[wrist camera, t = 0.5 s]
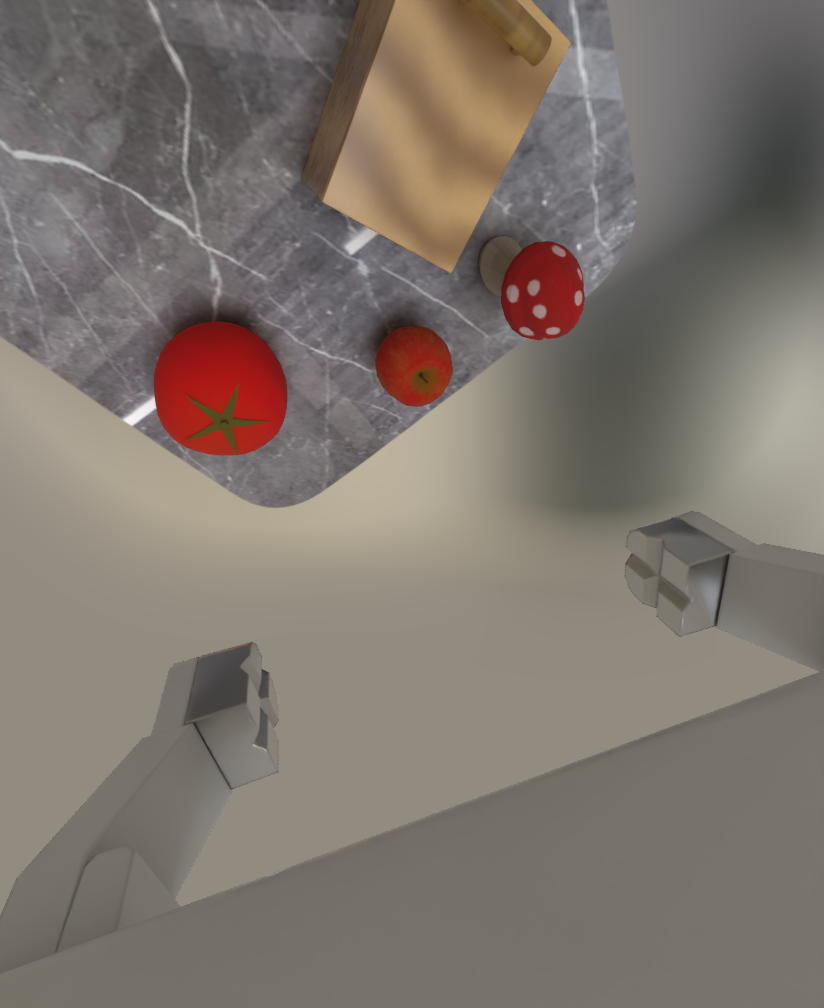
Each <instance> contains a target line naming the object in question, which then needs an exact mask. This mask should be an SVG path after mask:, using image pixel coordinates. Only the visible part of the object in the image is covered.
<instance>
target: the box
mask: <svg viewBox="0 0 824 1008" xmlns="http://www.w3.org/2000/svg"><path fill="white" fill-rule="evenodd" d="M391 3H392V0H360V2H359V5H358V8H357V11H356V14H355V17H354V20H353V23H352V26H351V29H350V32H349V35H348V38H347V41H346V44H345V47H344V50H343V53H342V56H341V59H340V62H339V65H338V68H337V71H336V74H335V77H334V80H333V83H332V86H331V89H330V92H329V95H328V98H327V101H326V104H325V107H324V110H323V113H322V116H321V119H320V122H319V125H318V128H317V131H316V134H315V137H314V140H313V143H312V146H311V149H310V152H309V155H308V158H307V161H306V164H305V167H304V170H303V173H302V176H301V178H302V180H303V181H304V182H305V183H306V184H307V185H308V186H309V187H310V189H311V190H312V191H313V192H314V193H315V194H316V195H317V196H318V198H319V199H320V200H321V197H322V195H323V192H324V189H325V186H326V183H327V181H328V178H329V175H330V172H331V170H332V167H333V164H334V161H335V158H336V156H337V153H338V150H339V147H340V144H341V142H342V139H343V136H344V133H345V131H346V128H347V125H348V122H349V119H350V117H351V114H352V111H353V108H354V106H355V103H356V100H357V97H358V94H359V92H360V89H361V86H362V83H363V81H364V78H365V75H366V72H367V69H368V67H369V64H370V61H371V58H372V56H373V53H374V50H375V47H376V44H377V42H378V39H379V36H380V33H381V31H382V28H383V25H384V22H385V19H386V17H387V14H388V11H389V8H390V5H391Z"/></svg>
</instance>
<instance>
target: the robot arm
mask: <svg viewBox="0 0 824 1008" xmlns="http://www.w3.org/2000/svg"><path fill="white" fill-rule="evenodd" d="M626 548H627V549H628V550H629V551H630V552H631V553H632V554H631V555H630V557H629V559H628V560H627V562H626V563H625V578H626V581H627V584H628V587H629V589H630V590H631V592H632V593H633V594H634V596H635V597H636V598H637V599H638V600H639V601H640V602H641V603H642V604H645V605H648V606H651V607H654V608H656V614H657V617H658V618H659V619H660V620H661V621H662V622H663V623H664V624H666V625H667V626H668V627H669V628H670V629H671V630H672V631H673V632H674V633H676V634H677V635H678V636H679V637H681V636H684V635H688V634H691V633H694V632H698V631H701V630H704V629H708V628H711V627H714V626H716V628H718V629H720V630H722V631H725V632H727V633H729V634H732V635H734V636H736V637H739V638H741V639H744V640H746V641H748V642H751V643H753V644H755V645H758V646H760V647H763V648H765V649H767V650H770V651H772V652H774V653H777V654H779V655H782V656H784V657H786V658H789V659H791V660H793V661H796V662H798V663H801V664H803V665H805V666H808V667H810V668H812V669H815V670H817V671H819V673H816V674H813V675H811V676H808V677H805V678H803V679H800V680H797V681H794V682H792V683H789V684H786V685H783V686H781V687H778V688H775V689H772V690H770V691H767V692H765V693H762V694H759V695H756V696H754V697H751V698H748V699H745V700H742V701H740V702H737V703H734V704H732V705H729V706H726V707H724V708H721V709H718V710H715V711H713V712H710V713H707V714H705V715H702V716H699V717H696V718H694V719H691V720H689V721H686V722H683V723H680V724H677V725H675V726H672V727H669V728H667V729H664V730H661V731H659V732H656V733H653V734H650V735H648V736H645V737H642V738H640V739H637V740H634V741H631V742H629V743H626V744H623V745H620V746H618V747H615V748H612V749H610V750H607V751H604V752H601V753H599V754H596V755H593V756H591V757H588V758H585V759H582V760H580V761H577V762H574V763H571V764H569V765H566V766H563V767H560V768H558V769H555V770H552V771H550V772H547V773H544V774H542V775H539V776H536V777H534V778H531V779H528V780H525V781H522V782H520V783H517V784H514V785H511V786H509V787H506V788H503V789H500V790H498V791H495V792H492V793H490V794H487V795H484V796H481V797H479V798H476V799H473V800H470V801H468V802H465V803H463V804H460V805H457V806H454V807H451V808H449V809H446V810H443V811H441V812H438V813H435V814H432V815H430V816H427V817H424V818H422V819H419V820H416V821H413V822H411V823H408V824H405V825H403V826H400V827H397V828H394V829H392V830H389V831H386V832H383V833H381V834H378V835H375V836H373V837H370V838H367V839H364V840H362V841H359V842H356V843H354V844H351V845H348V846H345V847H343V848H340V849H337V850H335V851H332V852H329V853H326V854H324V855H321V856H318V857H315V858H313V859H310V860H307V861H305V862H302V863H299V864H296V865H294V866H291V867H288V868H285V869H283V870H280V871H277V872H275V873H272V874H269V875H266V876H264V877H261V878H258V879H256V880H253V881H250V882H247V883H245V884H242V885H239V886H236V887H234V888H231V889H229V890H226V891H223V892H220V893H217V894H215V895H212V896H210V897H207V898H204V899H201V900H198V901H196V902H193V903H190V904H188V905H185V906H182V907H180V905H179V904H178V903H177V902H176V901H175V898H176V896H177V894H178V892H179V891H180V889H181V887H182V885H183V883H184V881H185V879H186V878H187V876H188V874H189V872H190V870H191V868H192V866H193V864H194V863H195V861H196V859H197V857H198V855H199V853H200V851H201V849H202V848H203V846H204V844H205V842H206V840H207V838H208V836H209V835H210V832H211V831H212V829H213V827H214V825H215V823H216V821H217V820H218V818H219V816H220V814H221V812H222V810H223V808H224V807H225V805H226V803H227V801H228V799H229V797H230V795H231V793H232V791H231V790H232V789H234V788H237V787H240V786H242V785H245V784H248V783H250V782H253V781H256V780H259V779H261V778H264V777H267V776H270V775H272V774H275V773H278V739H277V736H276V734H275V731H274V730H273V728H274V727H275V725H276V724H277V722H278V704H277V697H276V692H275V688H274V685H273V681H272V679H271V677H270V674H269V673H268V672H267V671H265V670H263V669H262V655H261V653H260V651H259V649H258V647H257V645H256V644H255V643H253V642H250V643H247V644H243V645H239V646H236V647H232V648H228V649H224V650H221V651H217V652H213V653H210V654H206V655H203V656H201V657H196V658H193V659H189V660H186V661H182V662H179V663H175V664H174V665H173V666H172V667H171V668H170V669H169V672H168V676H167V679H166V683H165V687H164V690H163V694H162V697H161V701H160V705H159V708H158V712H157V716H156V719H155V723H154V727H153V730H152V734H151V736H149V737H146V738H142V740H141V741H140V742H139V743H138V744H137V745H136V746H135V747H134V749H133V750H132V751H131V752H130V753H129V754H128V755H127V756H126V757H125V759H124V760H123V761H122V762H121V763H120V764H119V765H118V766H117V767H116V768H115V770H114V771H113V772H112V773H111V774H110V775H109V776H108V777H107V778H106V780H105V781H104V782H103V783H102V784H101V785H100V786H99V787H98V789H97V790H96V791H95V792H94V793H93V794H92V795H91V796H90V797H89V799H88V800H87V801H86V802H85V803H84V804H83V805H82V806H81V807H80V809H79V810H78V811H77V812H76V813H75V814H74V815H73V816H72V817H71V819H70V820H69V821H68V822H67V823H66V824H65V825H64V826H63V828H62V829H61V830H60V831H59V832H58V833H57V834H56V835H55V836H54V837H53V839H52V840H51V841H50V842H49V843H48V844H47V845H46V846H45V847H44V849H43V850H42V851H41V852H40V853H39V854H38V855H37V857H35V859H34V860H33V861H32V862H31V863H30V864H29V865H28V866H27V868H26V869H25V870H24V871H23V872H22V873H21V874H20V875H19V877H17V879H16V881H15V883H14V886H13V888H12V890H11V892H10V895H9V897H8V899H7V902H6V904H5V906H4V909H3V911H2V913H1V916H0V1008H824V555H821V554H816V553H811V552H806V551H801V550H796V549H791V548H785V547H780V546H775V545H770V544H761V545H756V544H755V543H753V542H751V541H749V540H748V539H746V538H744V537H742V536H741V535H739V534H737V533H735V532H733V531H732V530H730V529H728V528H726V527H725V526H723V525H721V524H719V523H718V522H716V521H714V520H712V519H710V518H708V517H707V516H705V515H703V514H701V513H699V512H693V511H691V512H688V513H684V514H682V515H678V516H675V517H672V518H671V519H668V520H664V521H661V522H658V523H654V524H651V525H648V526H644V527H641V528H638V529H635V530H631V531H630V532H629V534H628V536H627V542H626Z"/></svg>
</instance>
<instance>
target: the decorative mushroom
mask: <svg viewBox="0 0 824 1008" xmlns="http://www.w3.org/2000/svg"><path fill="white" fill-rule="evenodd" d="M479 270H480V274H481V277H482V279H483V282H484V284H485V285H486V287H487V289H488V290H489V291H491V292H492V293H493V294H495V295H498V296H501V304H502V308H503V311H504V315H505V318H506V320H507V322H508V323H509V325H510V326H511V328H512V329H513V330H514V331H515V332H517V333H518V334H519V335H521V336H523V337H526V338H530V339H535V340H542V339H550V338H558V337H560V336H563V335H565V334H567V333H568V332H569V331H570V330H571V329H573V328H574V326H575V325H576V324H577V322H578V321H579V319H580V317H581V314H582V311H583V307H584V299H585V297H584V289H583V287H584V284H583V275H582V271H581V268H580V266H579V264H578V262H577V260H576V258H575V257H574V256H573V255H572V254H571V253H570V252H569V251H568V250H567V249H566V248H565V247H564V246H562V245H559V244H557V243H554V242H549V241H546V242H535V243H533V244H531V245H529V246H527V247H525V248H523V249H521V247H520V245H519V244H518V243H517V242H516V241H515V240H514V239H512V238H510V237H507V236H499V237H495V238H493V239H491V240H489V241H488V242H487V243H486V244H485V245H484V246H483V249H482V251H481V253H480V257H479Z"/></svg>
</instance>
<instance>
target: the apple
mask: <svg viewBox="0 0 824 1008" xmlns="http://www.w3.org/2000/svg"><path fill="white" fill-rule="evenodd" d="M376 371H377V376H378V378H379V380H380V382H381V384H382V386H383V387H384V388H385V390H386V391H387V392H388V393H389V394H390V395H391V396H393V397H394V398H396V399H397V400H398V401H400V402H401V403H403V404H405V405H407V406H423V405H426V404H430V403H431V402H433V401H434V400H436V399H437V398H438V397H440V396H441V395H442V393H443V392H444V390H445V388H446V387H447V385H448V384H449V382H450V379H451V376H452V371H453V367H452V361H451V355H450V352H449V350H448V347H447V345H446V344H445V342H444V341H443V340H442V339H441V338H440V337H439V336H438V335H437V334H436V333H435V332H433V331H432V330H430V329H428V328H425V327H422V326H404V327H400V328H397V329H396V330H394V331H392V332H391V333H390V334H389V335H388V336H387V337H386V338H385V339H384V341H383V342H382V344H381V346H380V348H379V350H378V353H377V357H376Z"/></svg>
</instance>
